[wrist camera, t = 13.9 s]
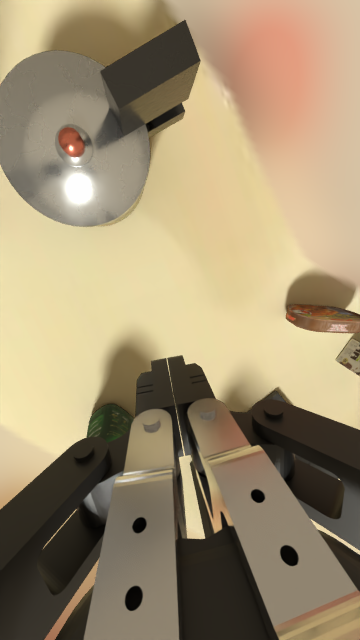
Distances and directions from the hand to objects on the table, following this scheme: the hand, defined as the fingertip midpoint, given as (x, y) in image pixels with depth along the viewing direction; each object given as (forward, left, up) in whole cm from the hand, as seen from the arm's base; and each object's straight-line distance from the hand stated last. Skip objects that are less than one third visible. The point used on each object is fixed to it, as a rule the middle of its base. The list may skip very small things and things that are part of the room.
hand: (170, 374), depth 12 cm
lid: (-3, +18, -25) cm, 31 cm away
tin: (+32, -13, -35) cm, 49 cm away
